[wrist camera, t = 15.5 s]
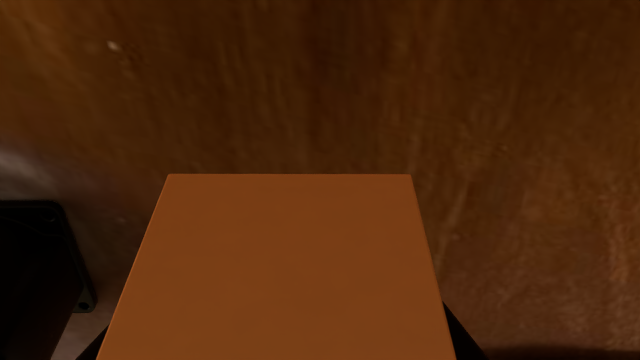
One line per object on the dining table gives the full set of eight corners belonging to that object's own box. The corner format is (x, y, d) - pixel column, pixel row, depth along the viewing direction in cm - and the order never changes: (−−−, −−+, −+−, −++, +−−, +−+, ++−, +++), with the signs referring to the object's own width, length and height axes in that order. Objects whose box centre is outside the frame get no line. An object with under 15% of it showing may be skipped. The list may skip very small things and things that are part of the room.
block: (411, 173, 9) (466, 394, 6) (390, 329, 12) (421, 550, 8) (167, 172, 9) (80, 394, 6) (198, 330, 12) (150, 550, 8)
